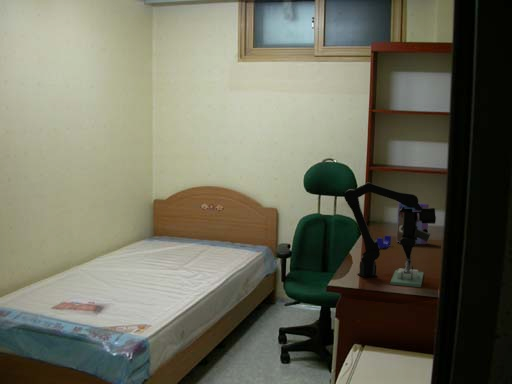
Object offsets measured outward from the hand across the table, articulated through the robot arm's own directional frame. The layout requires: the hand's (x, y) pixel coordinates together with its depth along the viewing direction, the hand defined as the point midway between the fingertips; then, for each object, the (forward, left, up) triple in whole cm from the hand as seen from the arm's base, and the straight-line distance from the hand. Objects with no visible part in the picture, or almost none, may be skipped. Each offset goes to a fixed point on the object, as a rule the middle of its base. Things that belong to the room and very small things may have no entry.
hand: (408, 258), depth 231 cm
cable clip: (+41, +66, -9) cm, 78 cm away
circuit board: (-2, -2, -8) cm, 9 cm away
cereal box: (+65, +71, -9) cm, 97 cm away
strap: (-2, -2, -3) cm, 4 cm away
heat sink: (-1, -1, -7) cm, 8 cm away
